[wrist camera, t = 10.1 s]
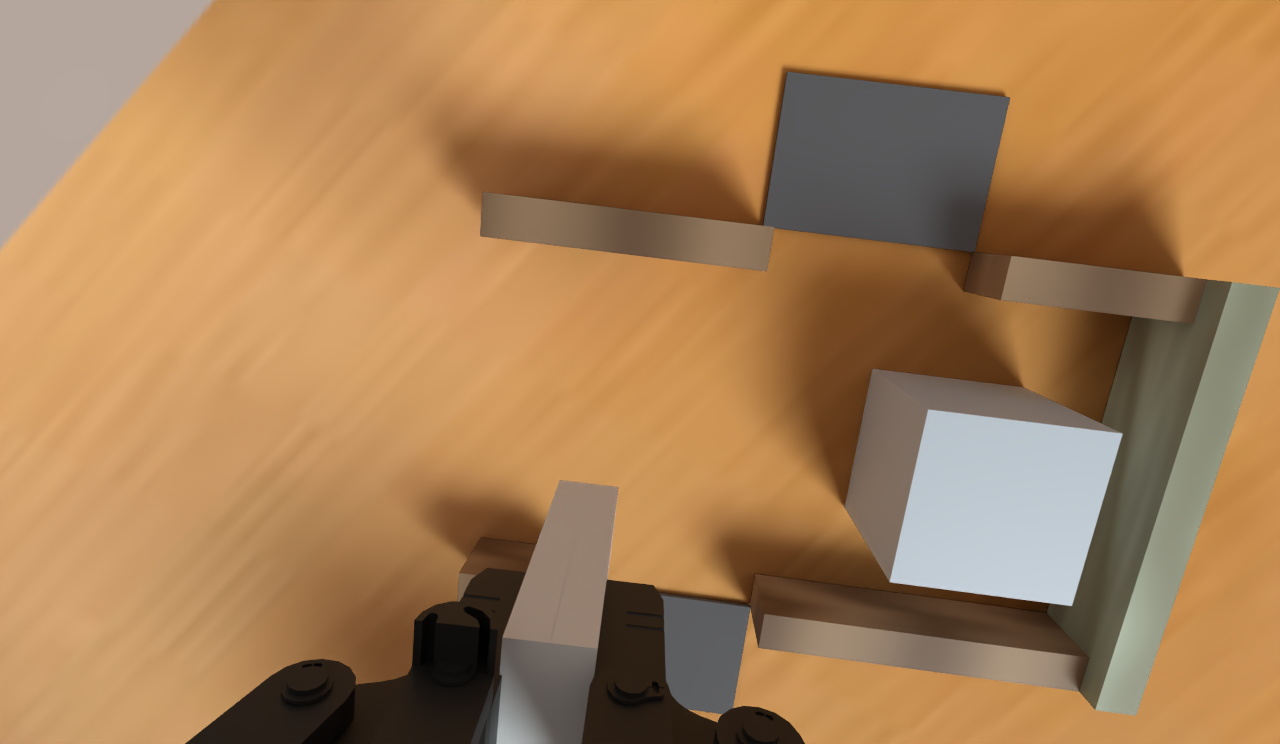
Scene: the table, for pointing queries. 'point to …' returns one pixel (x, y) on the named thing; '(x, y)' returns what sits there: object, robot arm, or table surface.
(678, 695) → the mat
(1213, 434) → the lane
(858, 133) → the mat
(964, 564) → the block
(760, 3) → the table surface
